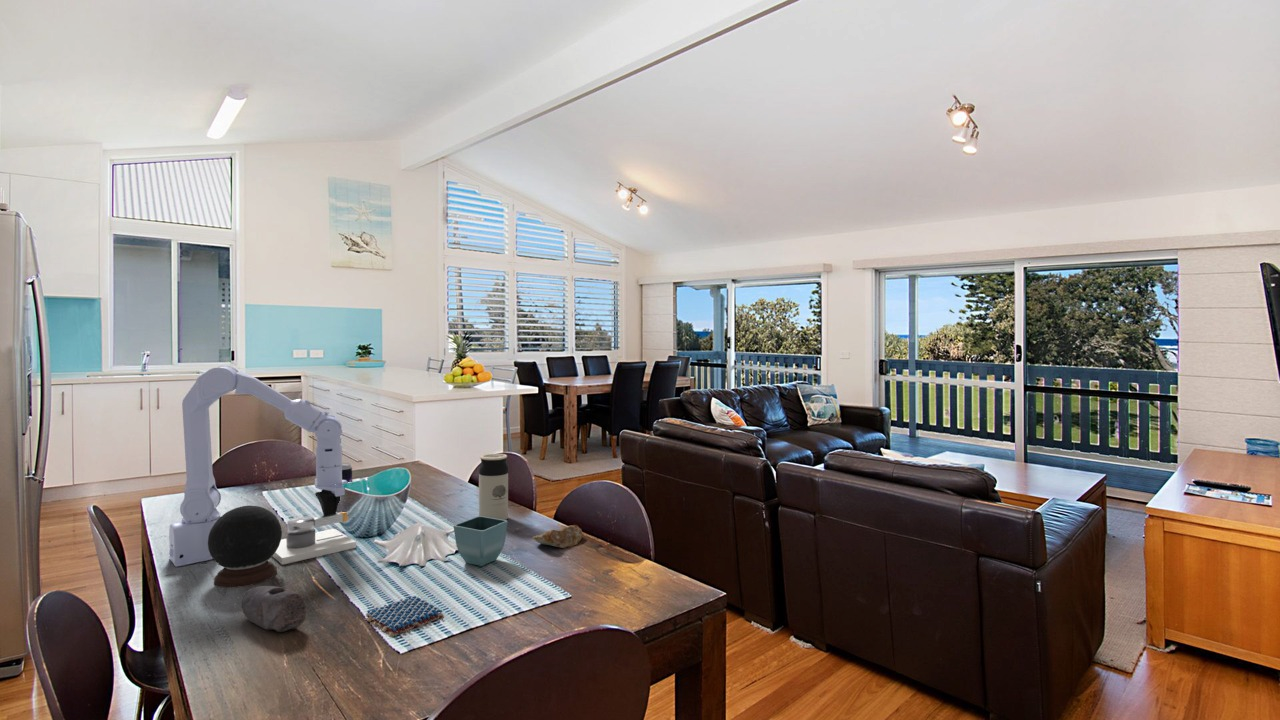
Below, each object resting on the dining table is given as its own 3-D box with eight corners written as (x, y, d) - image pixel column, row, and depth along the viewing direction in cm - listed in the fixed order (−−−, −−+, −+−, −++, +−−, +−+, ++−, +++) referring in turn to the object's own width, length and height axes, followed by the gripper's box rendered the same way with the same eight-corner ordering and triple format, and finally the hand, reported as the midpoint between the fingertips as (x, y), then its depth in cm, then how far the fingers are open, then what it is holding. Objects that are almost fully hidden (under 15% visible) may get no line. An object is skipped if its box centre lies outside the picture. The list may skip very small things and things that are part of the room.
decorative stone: (523, 527, 149) (562, 520, 162) (522, 546, 149) (561, 536, 162) (554, 534, 144) (591, 525, 157) (552, 553, 144) (590, 543, 157)
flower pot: (452, 564, 138) (452, 524, 138) (479, 552, 146) (479, 515, 145) (482, 571, 134) (482, 531, 134) (508, 558, 142) (508, 520, 141)
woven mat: (415, 603, 119) (415, 592, 119) (445, 619, 112) (445, 609, 112) (362, 621, 111) (362, 610, 111) (391, 640, 104) (391, 629, 104)
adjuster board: (282, 564, 136) (282, 544, 136) (263, 549, 146) (263, 530, 146) (356, 547, 148) (355, 529, 148) (334, 534, 158) (334, 517, 158)
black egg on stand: (296, 569, 134) (296, 501, 134) (242, 592, 121) (242, 518, 121) (249, 562, 138) (248, 496, 137) (192, 585, 125) (191, 512, 124)
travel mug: (476, 517, 174) (476, 454, 174) (504, 514, 177) (504, 452, 177) (481, 525, 167) (481, 459, 166) (510, 521, 170) (511, 457, 170)
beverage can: (346, 506, 184) (346, 466, 183) (327, 505, 184) (327, 466, 184) (355, 501, 190) (355, 462, 189) (337, 500, 190) (337, 462, 189)
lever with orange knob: (293, 535, 142) (292, 525, 141) (283, 530, 145) (283, 520, 145) (352, 522, 152) (352, 513, 152) (342, 518, 156) (342, 508, 156)
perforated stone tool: (230, 621, 109) (229, 583, 109) (260, 610, 114) (260, 573, 114) (279, 642, 102) (279, 601, 102) (309, 629, 107) (309, 590, 107)
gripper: (357, 467, 149) (358, 522, 150) (335, 458, 159) (335, 510, 160) (326, 471, 144) (327, 528, 145) (305, 462, 154) (306, 516, 155)
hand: (329, 519), depth 152 cm, fingers closed
